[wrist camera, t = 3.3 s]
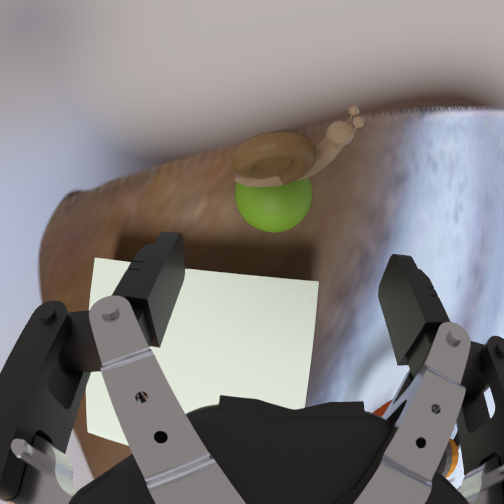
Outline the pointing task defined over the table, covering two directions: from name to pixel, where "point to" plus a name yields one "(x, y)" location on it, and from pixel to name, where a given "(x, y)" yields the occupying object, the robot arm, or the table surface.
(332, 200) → the table surface
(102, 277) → the sage board
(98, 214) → the table surface
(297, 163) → the snail figurine
